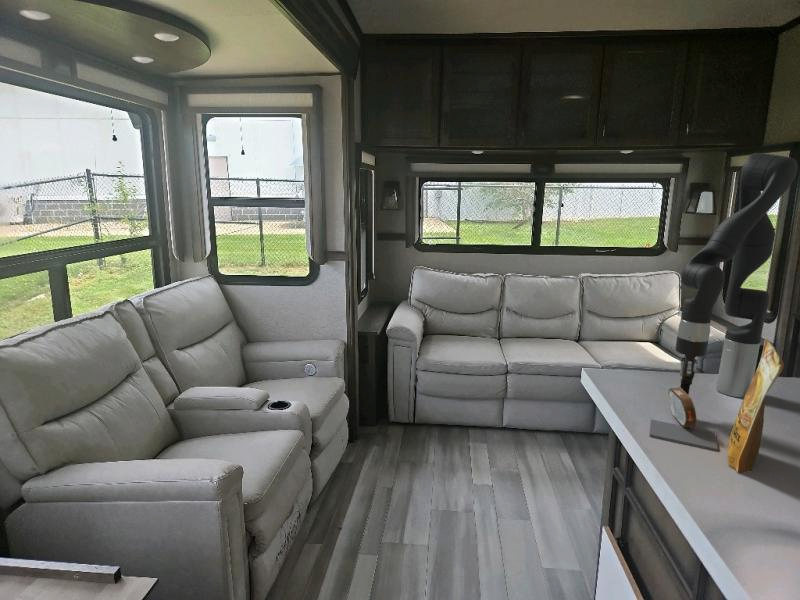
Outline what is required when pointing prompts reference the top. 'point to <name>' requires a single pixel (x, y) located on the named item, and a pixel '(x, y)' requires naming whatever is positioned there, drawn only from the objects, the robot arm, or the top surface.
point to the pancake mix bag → (753, 412)
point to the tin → (682, 407)
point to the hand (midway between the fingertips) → (683, 395)
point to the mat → (683, 435)
